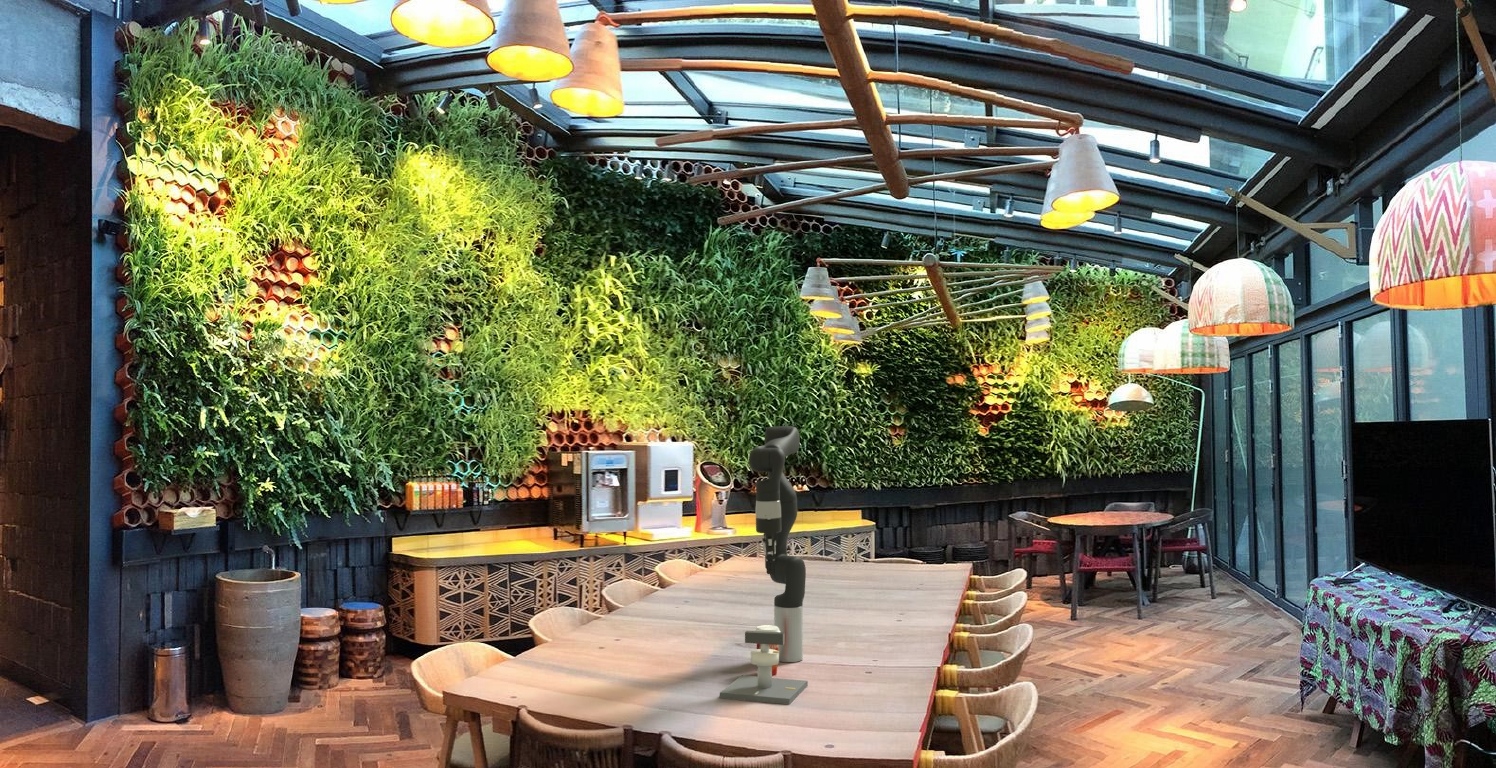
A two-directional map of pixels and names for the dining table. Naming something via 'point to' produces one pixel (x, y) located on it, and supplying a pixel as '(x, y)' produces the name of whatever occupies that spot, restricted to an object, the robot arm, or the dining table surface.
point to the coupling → (765, 647)
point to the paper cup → (771, 646)
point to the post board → (764, 688)
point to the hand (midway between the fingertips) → (769, 571)
